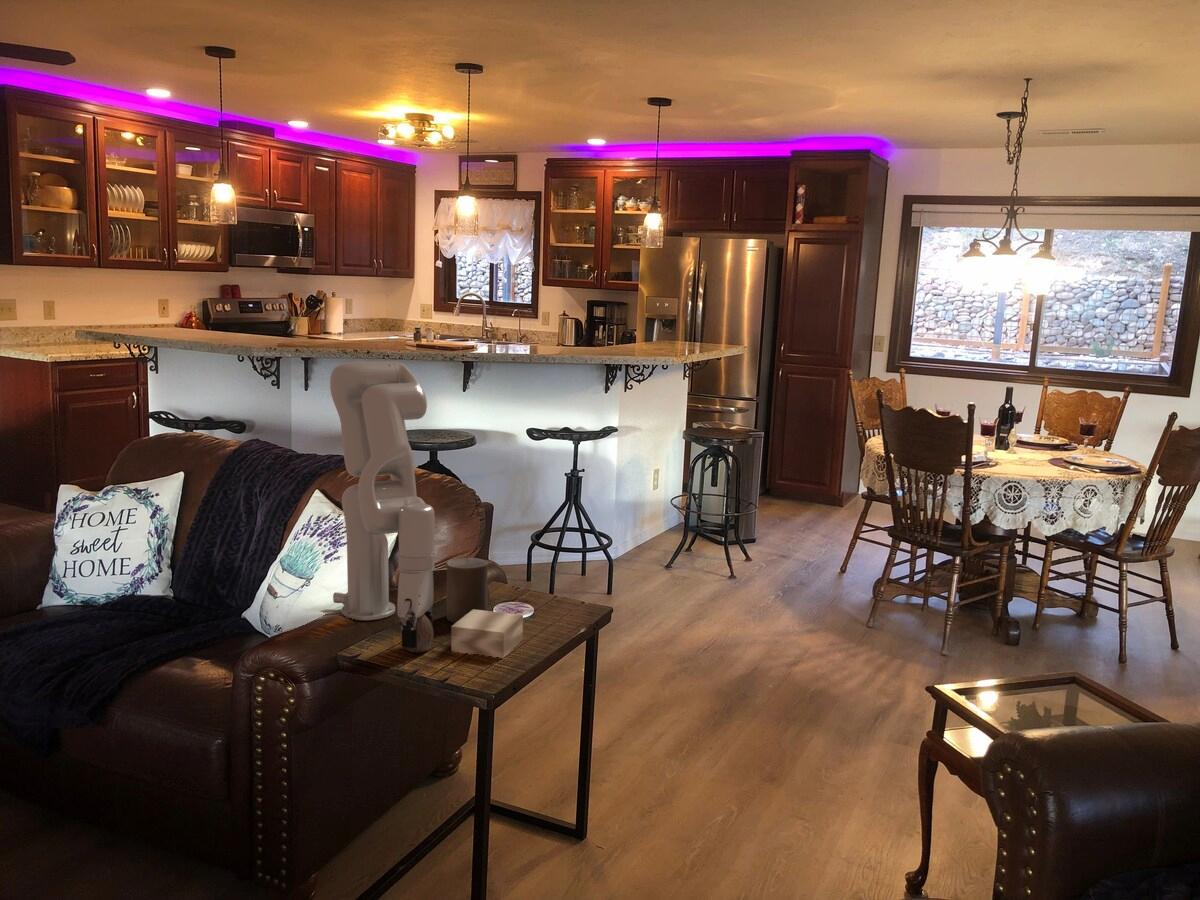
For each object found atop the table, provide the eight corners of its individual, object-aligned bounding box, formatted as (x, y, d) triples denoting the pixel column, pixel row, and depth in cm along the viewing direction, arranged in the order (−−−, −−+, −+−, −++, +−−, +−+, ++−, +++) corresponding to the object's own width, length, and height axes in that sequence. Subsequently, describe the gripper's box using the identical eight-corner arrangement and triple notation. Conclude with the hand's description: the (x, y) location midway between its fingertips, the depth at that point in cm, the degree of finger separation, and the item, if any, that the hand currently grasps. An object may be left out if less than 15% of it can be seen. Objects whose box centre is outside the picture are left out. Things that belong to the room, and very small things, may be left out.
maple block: (451, 653, 206) (451, 626, 205) (472, 634, 217) (473, 609, 216) (503, 659, 203) (503, 632, 202) (522, 640, 214) (523, 614, 213)
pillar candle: (484, 625, 222) (485, 563, 220) (442, 624, 222) (443, 561, 220) (489, 612, 232) (490, 552, 230) (449, 611, 232) (450, 551, 230)
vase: (412, 641, 211) (412, 603, 209) (439, 646, 208) (439, 608, 207) (394, 652, 204) (394, 613, 203) (422, 657, 202) (422, 617, 201)
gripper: (415, 550, 212) (415, 625, 215) (383, 571, 196) (385, 652, 198) (447, 552, 211) (447, 628, 214) (418, 574, 194) (419, 655, 197)
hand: (417, 639), depth 206 cm, fingers open, 8 cm apart
